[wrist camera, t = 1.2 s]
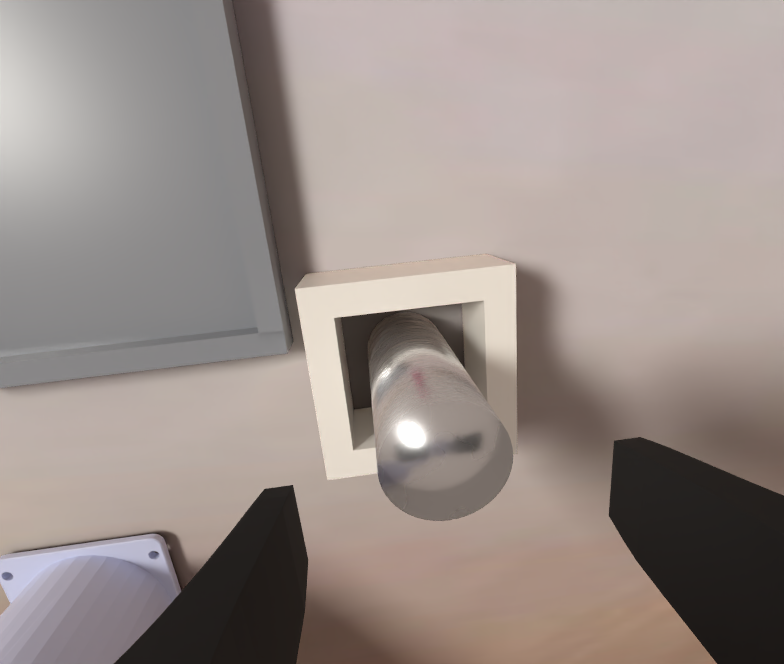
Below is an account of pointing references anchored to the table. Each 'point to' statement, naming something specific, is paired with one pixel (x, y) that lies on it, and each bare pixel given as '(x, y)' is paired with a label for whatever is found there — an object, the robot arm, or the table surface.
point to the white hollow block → (400, 292)
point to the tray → (130, 192)
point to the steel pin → (432, 424)
